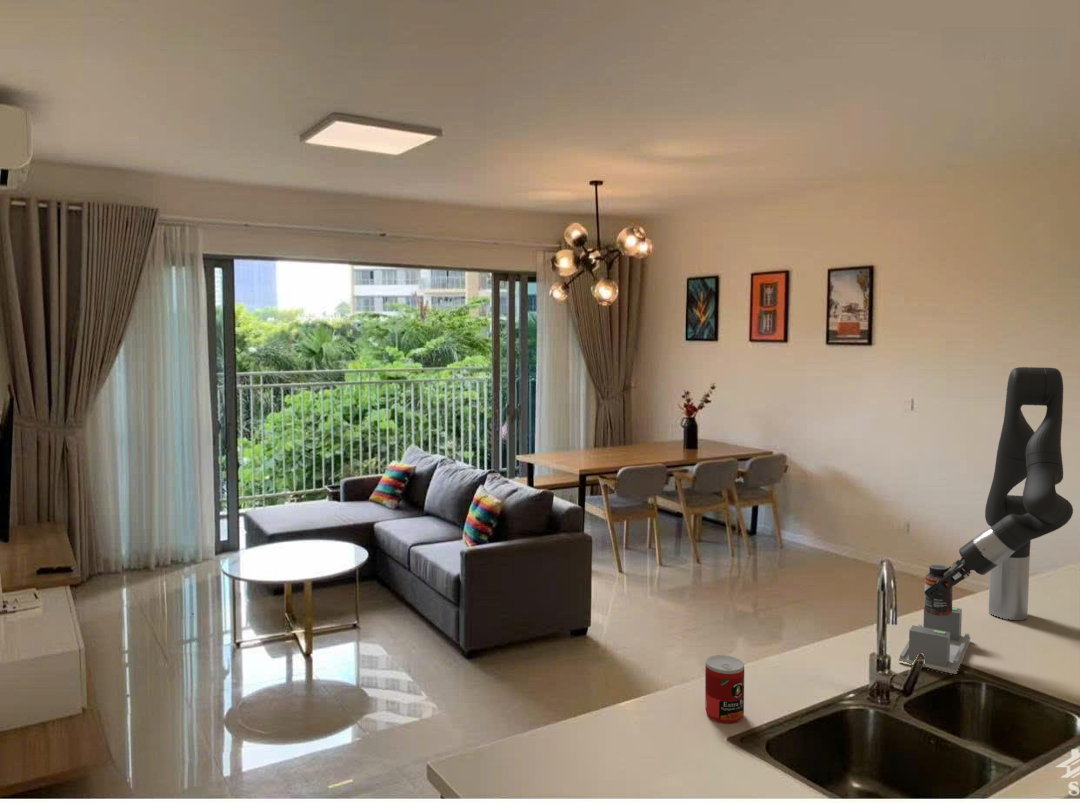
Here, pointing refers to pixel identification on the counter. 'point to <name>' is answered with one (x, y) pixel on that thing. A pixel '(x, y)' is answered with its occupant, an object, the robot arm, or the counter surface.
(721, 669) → the canned food
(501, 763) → the counter surface
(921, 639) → the board
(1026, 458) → the robot arm
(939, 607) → the supplement bottle
